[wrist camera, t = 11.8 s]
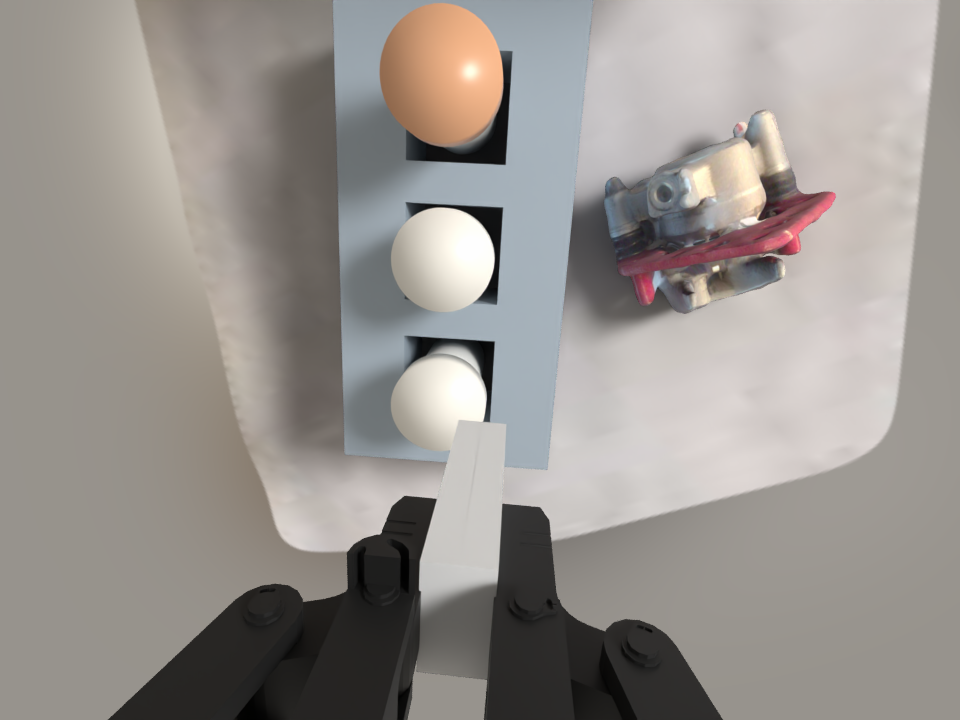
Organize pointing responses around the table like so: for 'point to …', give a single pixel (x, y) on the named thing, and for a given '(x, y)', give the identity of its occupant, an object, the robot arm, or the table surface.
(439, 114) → the peach ball knob
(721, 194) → the brake caliper
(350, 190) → the blue peg holder block
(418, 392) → the cream plunger
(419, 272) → the cream plunger
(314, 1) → the table surface
